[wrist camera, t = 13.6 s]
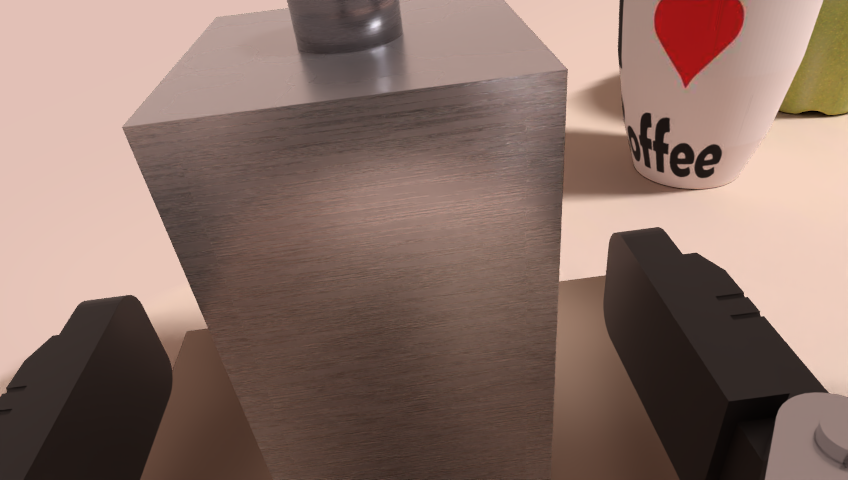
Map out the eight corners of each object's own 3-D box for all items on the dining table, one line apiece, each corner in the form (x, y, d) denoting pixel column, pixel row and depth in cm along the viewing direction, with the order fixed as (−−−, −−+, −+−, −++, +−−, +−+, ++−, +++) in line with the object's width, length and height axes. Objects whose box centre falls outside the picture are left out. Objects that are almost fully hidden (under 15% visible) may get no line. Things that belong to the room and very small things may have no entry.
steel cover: (500, 326, 20) (485, -75, 13) (549, 499, 15) (571, -21, 8) (314, 351, 20) (199, -39, 13) (297, 535, 14) (85, 40, 8)
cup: (571, 157, 31) (581, -45, 26) (682, 118, 34) (714, -74, 28) (691, 225, 25) (739, -21, 19) (816, 171, 28) (890, -61, 22)
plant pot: (825, 146, 30) (885, -38, 25) (684, 94, 37) (708, -57, 32) (941, 101, 32) (1015, -73, 27) (788, 61, 40) (825, -83, 35)
